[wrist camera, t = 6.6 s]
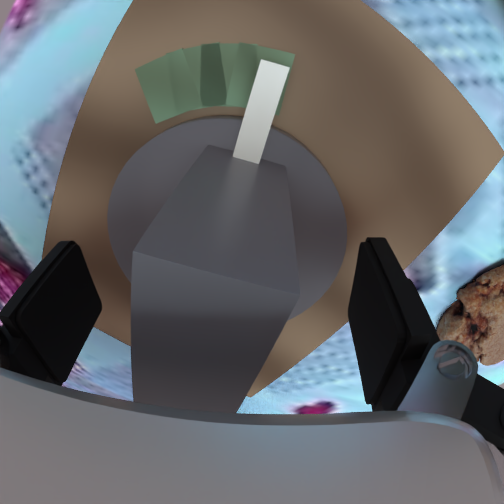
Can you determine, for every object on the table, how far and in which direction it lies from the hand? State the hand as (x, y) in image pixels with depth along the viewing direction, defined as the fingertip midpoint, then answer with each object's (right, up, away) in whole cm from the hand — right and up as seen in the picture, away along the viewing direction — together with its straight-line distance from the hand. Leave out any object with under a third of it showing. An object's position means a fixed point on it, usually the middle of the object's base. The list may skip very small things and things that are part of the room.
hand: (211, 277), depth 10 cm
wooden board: (0, +3, +4) cm, 5 cm away
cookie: (+19, -3, +7) cm, 20 cm away
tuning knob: (0, +2, +2) cm, 3 cm away
